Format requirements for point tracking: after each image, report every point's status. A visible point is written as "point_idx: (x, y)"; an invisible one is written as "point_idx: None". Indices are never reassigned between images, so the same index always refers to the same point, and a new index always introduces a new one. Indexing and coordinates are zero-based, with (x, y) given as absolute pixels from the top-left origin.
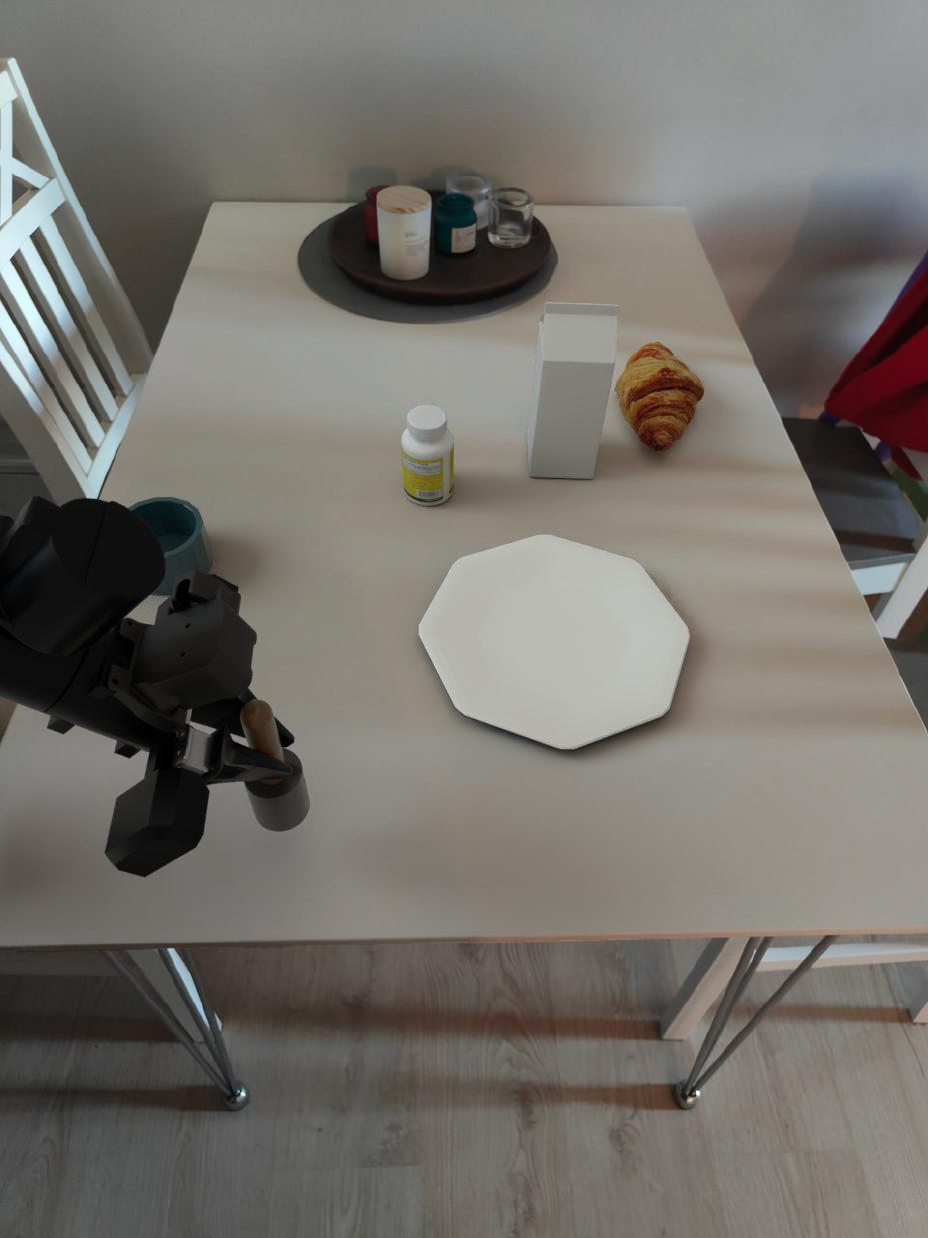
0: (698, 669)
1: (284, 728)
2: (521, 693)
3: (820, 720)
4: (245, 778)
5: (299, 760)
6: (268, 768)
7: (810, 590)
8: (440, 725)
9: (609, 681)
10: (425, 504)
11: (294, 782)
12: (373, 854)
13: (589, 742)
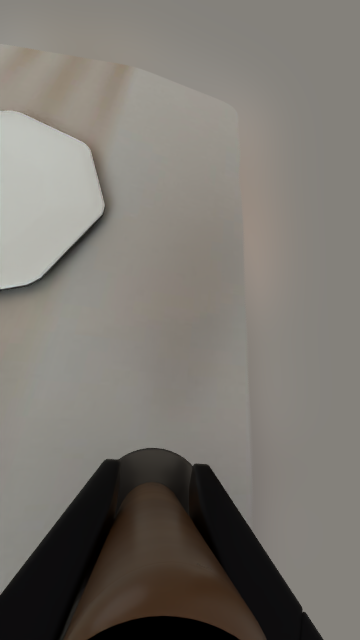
0: None
1: (89, 489)
2: (30, 231)
3: (113, 93)
4: None
5: (130, 454)
6: (258, 541)
7: (7, 59)
8: (40, 308)
9: (42, 173)
10: None
11: (180, 464)
12: (173, 387)
13: (101, 194)
